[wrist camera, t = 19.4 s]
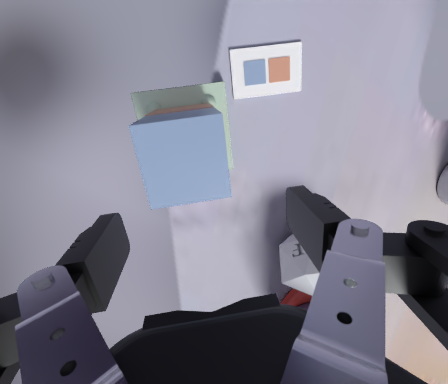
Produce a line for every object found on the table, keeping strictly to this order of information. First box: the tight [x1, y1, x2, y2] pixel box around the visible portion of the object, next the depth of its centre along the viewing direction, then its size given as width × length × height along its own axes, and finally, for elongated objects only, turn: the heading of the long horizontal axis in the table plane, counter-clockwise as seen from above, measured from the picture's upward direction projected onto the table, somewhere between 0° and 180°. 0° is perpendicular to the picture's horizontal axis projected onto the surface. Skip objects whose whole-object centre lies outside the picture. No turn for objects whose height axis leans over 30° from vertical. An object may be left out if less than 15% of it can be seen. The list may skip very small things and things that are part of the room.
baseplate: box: [131, 82, 233, 170], centre depth 28 cm, size 10×10×1 cm
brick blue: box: [129, 107, 232, 210], centre depth 19 cm, size 6×6×6 cm
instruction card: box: [229, 42, 302, 100], centre depth 27 cm, size 8×5×1 cm, turn 96°
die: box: [279, 234, 320, 296], centre depth 34 cm, size 8×9×10 cm
